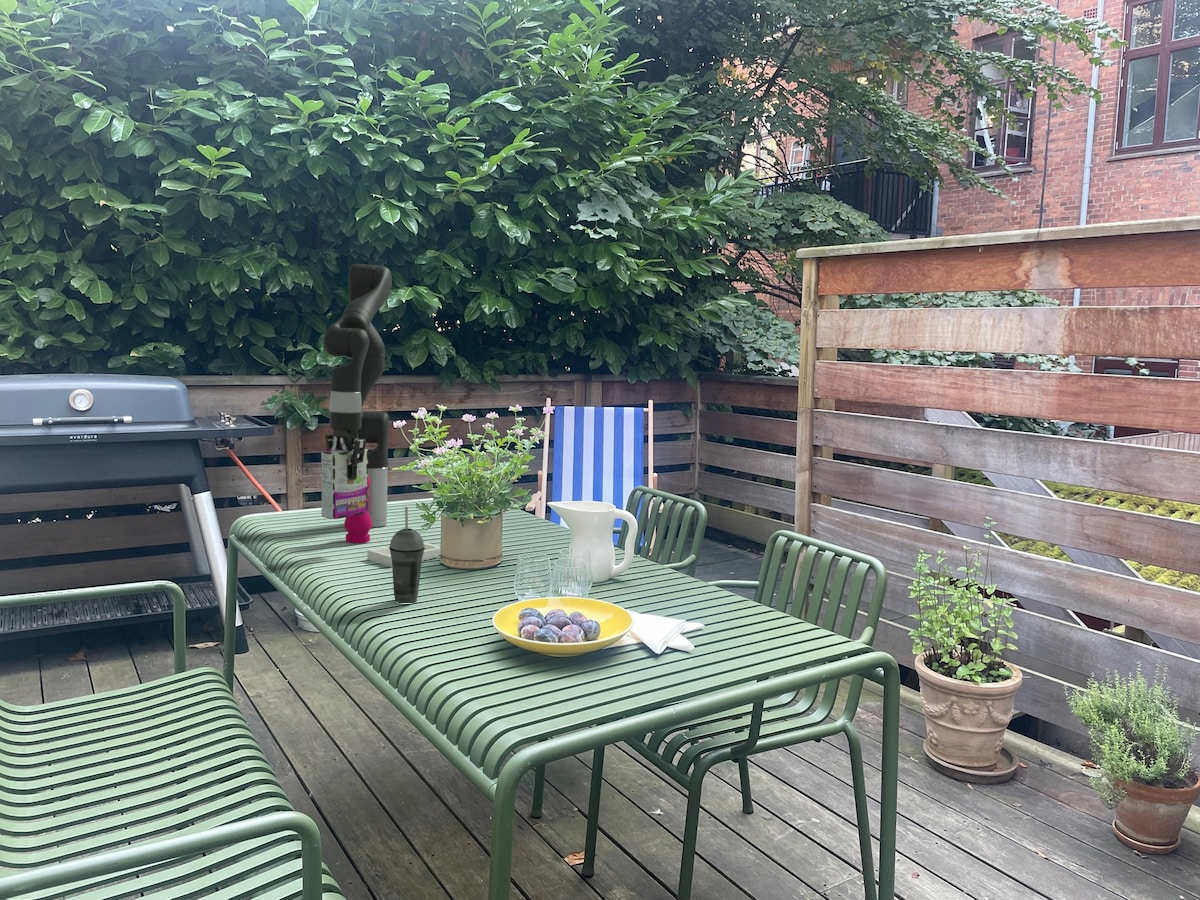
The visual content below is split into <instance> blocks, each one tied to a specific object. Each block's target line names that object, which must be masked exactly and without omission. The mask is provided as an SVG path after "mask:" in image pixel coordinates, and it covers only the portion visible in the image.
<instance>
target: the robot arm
mask: <svg viewBox="0 0 1200 900" xmlns="http://www.w3.org/2000/svg"><path fill="white" fill-rule="evenodd" d="M347 279H348V297H349V298H348V299H349V303H348V304H347V306H346V307H345V309H344V310H343V313H342V315H341V317H340V318H339V319H337V320H336V321H335V322H334V323H333V324H331V325H330V326H329V327H328V329H327V330H326V331H325V333H324V336H323V340H322V344H323V347H324V350H325V352H326V353H327V354H328V355H329V356H331V357H341V358H342V357H343V358H344V357H345V358H350V362H349V363H348V364H346V365H341V366H336V367H334V368H332V369H331V374H330V379H331V380H330V395H329V396H330V397H329V429H332V430H333V432H332V433H326V434H325V435H324V438H325V446H326V447H325V448H326V451H332V450H343V452H345V454H346V456H347V462H348V465H347V479H348V480H354V479H356V477H357V464H358V463H361V462H363V459H364V452H365V449H366V444H376V447H375V448H374V449H371V450H370V451H368V477H369V479H370V487H369V488H368V513H369V515H370V518H371V521H372V528H379V527H380V528H381V527H385V526H386V525H387V521H388V519H387V517H388V512H387V511H388V479H389V478H388V473H389V470H388V469H389V467H388V466H389V465H388V463H389V461H388V460H389V456H388V455H389V453H388V452H389V437H390V416H389V414H388V412H387V411H386V412H385V411H375V410H373V411H372V410H371V411H369V410H363V406H364V404H365V401H366V399H367V397H368V396H369V393H370V392H371V390H372V389H373V387H374V386H375V385H376V383H377V382H378V381H379V379H381V377H382V375H383V373H384V370H385V365H386V363H385V362H386V361H385V360H386V359H385V358H386V357H385V355H386V354H385V353H386V349H385V344H384V341H383V340H382V339H383V338H382V337H381V336H380V334H379V333H378V331H377V329H376V328H375V327H374V325H373V323H372V320H373V318H374V316H375V315H376V313H377V312H378V311H379V310H380V309H381V308H382V307H383V305H384V304H385V302H386V301H387V300H388V299H389V296H390V294H391V291H392V286H393V285H392V284H393V283H392V282H393V279H392V273H391V270H390V269H389V268H388V267H386V266H383V265H374V264H365V263H363V264H362V263H353V264H352V265H351V266H350V267H349V271H348V278H347ZM352 450H353V452H349V451H352ZM358 454H359V458H358V456H357V455H358ZM351 455H353V456H352V459H351Z"/></svg>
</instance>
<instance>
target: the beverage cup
mask: <svg viewBox="0 0 1200 900" xmlns="http://www.w3.org/2000/svg"><path fill="white" fill-rule="evenodd" d="M408 508H409V507H408V506H404V510H405V511H404V512H405V513H404V514H405V515H404V517H405V521H404V523H405V527H404V528H402V529H400V530H398V531H396V533H394V535H393V536H392V538H391V540H390V543H389V546H390V547H389V549H390V554H391V558H392V567H391V568H392V569H391V570H392V583H393V594H394V602H395V601H396V602H398V603H414V604H416V603H417V602H418V597H419V596H418V595H419V588H420V579H421V571H422V563H423V561H422V558H423V554H424V549H425V547H424V543H425V542H424V539H423V537H422V535H421V534H420V532H418V531H417V530H415V529H413V528H409V521H408V520H409V514H408V513H409V512H408V510H409V509H408ZM416 601H417V602H416ZM415 602H416V603H415Z"/></svg>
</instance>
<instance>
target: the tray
mask: <svg viewBox="0 0 1200 900" xmlns="http://www.w3.org/2000/svg"><path fill="white" fill-rule="evenodd" d="M389 547H390V545H388V546H383V547H379V548H371V549H367V553H366V555H367V559H368V561H370V560H371V562H374V563H378V564H381V565H383V566H387V567H390V568H392V558H391V554H390V549H389ZM424 547H425V549H424V554H423V558H422V562H425V561H424V560H427V561H430V560H429V559H432V560H434V559H433V558H437V557H439V555H440V547H441V546H438V545H435V544H431V543H428V542H424ZM367 559H366V560H367ZM437 559H438V558H437Z"/></svg>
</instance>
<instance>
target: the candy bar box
mask: <svg viewBox="0 0 1200 900" xmlns="http://www.w3.org/2000/svg"><path fill="white" fill-rule="evenodd" d="M349 452H353V450H352V451H349ZM368 452H369V450H368V449H367V448H365V452H364V459H363V462H361V463H358V464H357V477H356V479H354V480H348V479H347V465H348V462H347V456H346V454H345V452H343V450H332V449H331V451H327V450H323V451H321V453H320V458H321V459H320V461H321V464H320V465H321V466H320V467H321V470H320V471H321V472H320V473H321V517H323V518H326V519H332V520H338V519H343V518H346V517H349V516H354V515H359V514H364V513H367V512H368ZM352 456H353V455H351V459H352ZM357 456H358V458H359V454H358V455H357Z"/></svg>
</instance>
